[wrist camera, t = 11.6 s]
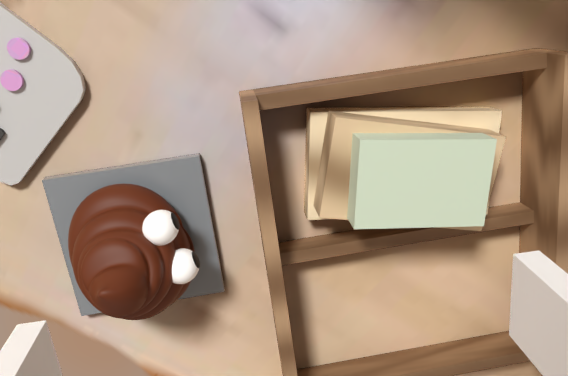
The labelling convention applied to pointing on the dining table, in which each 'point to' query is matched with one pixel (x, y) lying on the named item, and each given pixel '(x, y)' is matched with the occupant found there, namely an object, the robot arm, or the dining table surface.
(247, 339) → the dining table surface
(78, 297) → the mat
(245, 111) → the tray
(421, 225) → the offcut top
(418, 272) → the dining table surface
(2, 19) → the handheld gaming console
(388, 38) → the dining table surface
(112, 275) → the poop emoji
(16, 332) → the robot arm
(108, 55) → the dining table surface
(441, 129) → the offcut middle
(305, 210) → the tan flat rectangular block
